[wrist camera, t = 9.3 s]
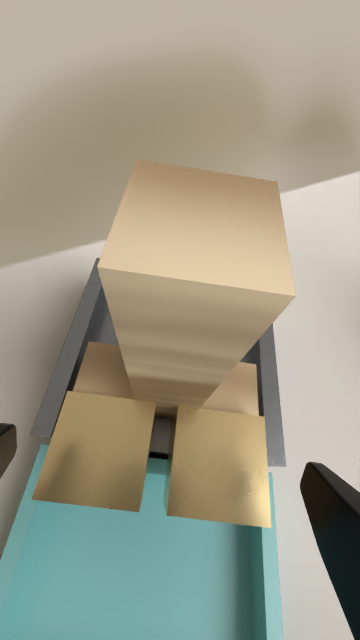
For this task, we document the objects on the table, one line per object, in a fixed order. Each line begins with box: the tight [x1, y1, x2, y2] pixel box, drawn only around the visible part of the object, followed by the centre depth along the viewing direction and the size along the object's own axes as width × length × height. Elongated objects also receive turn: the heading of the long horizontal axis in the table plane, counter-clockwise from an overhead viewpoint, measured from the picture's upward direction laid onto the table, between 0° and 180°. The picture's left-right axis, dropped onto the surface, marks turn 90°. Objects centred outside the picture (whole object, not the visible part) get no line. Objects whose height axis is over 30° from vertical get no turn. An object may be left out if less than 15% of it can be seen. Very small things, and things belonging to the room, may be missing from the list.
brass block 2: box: [163, 405, 271, 528], centre depth 12 cm, size 4×4×4 cm
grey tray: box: [30, 258, 286, 467], centre depth 18 cm, size 12×13×6 cm
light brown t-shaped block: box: [73, 160, 295, 418], centre depth 10 cm, size 3×9×12 cm, turn 84°
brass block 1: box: [31, 391, 156, 512], centre depth 12 cm, size 4×4×4 cm
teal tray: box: [0, 444, 283, 640], centre depth 13 cm, size 11×14×2 cm
